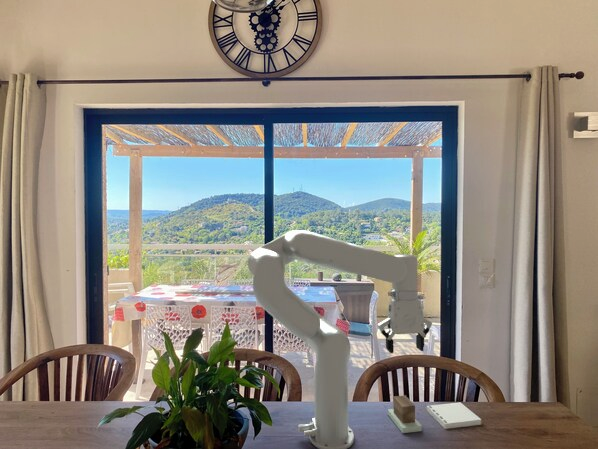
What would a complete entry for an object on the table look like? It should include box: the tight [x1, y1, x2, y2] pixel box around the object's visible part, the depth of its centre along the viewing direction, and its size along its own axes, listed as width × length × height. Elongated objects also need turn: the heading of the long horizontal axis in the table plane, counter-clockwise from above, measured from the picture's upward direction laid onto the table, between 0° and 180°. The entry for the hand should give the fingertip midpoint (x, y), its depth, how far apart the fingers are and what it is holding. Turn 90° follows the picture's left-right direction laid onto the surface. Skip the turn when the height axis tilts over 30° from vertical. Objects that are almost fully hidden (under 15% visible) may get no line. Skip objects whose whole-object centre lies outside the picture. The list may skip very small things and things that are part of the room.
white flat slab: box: [426, 402, 482, 430], centre depth 106 cm, size 12×10×2 cm
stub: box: [387, 394, 423, 434], centre depth 104 cm, size 6×10×6 cm, turn 10°
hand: (405, 350), depth 104 cm, fingers open, 9 cm apart
